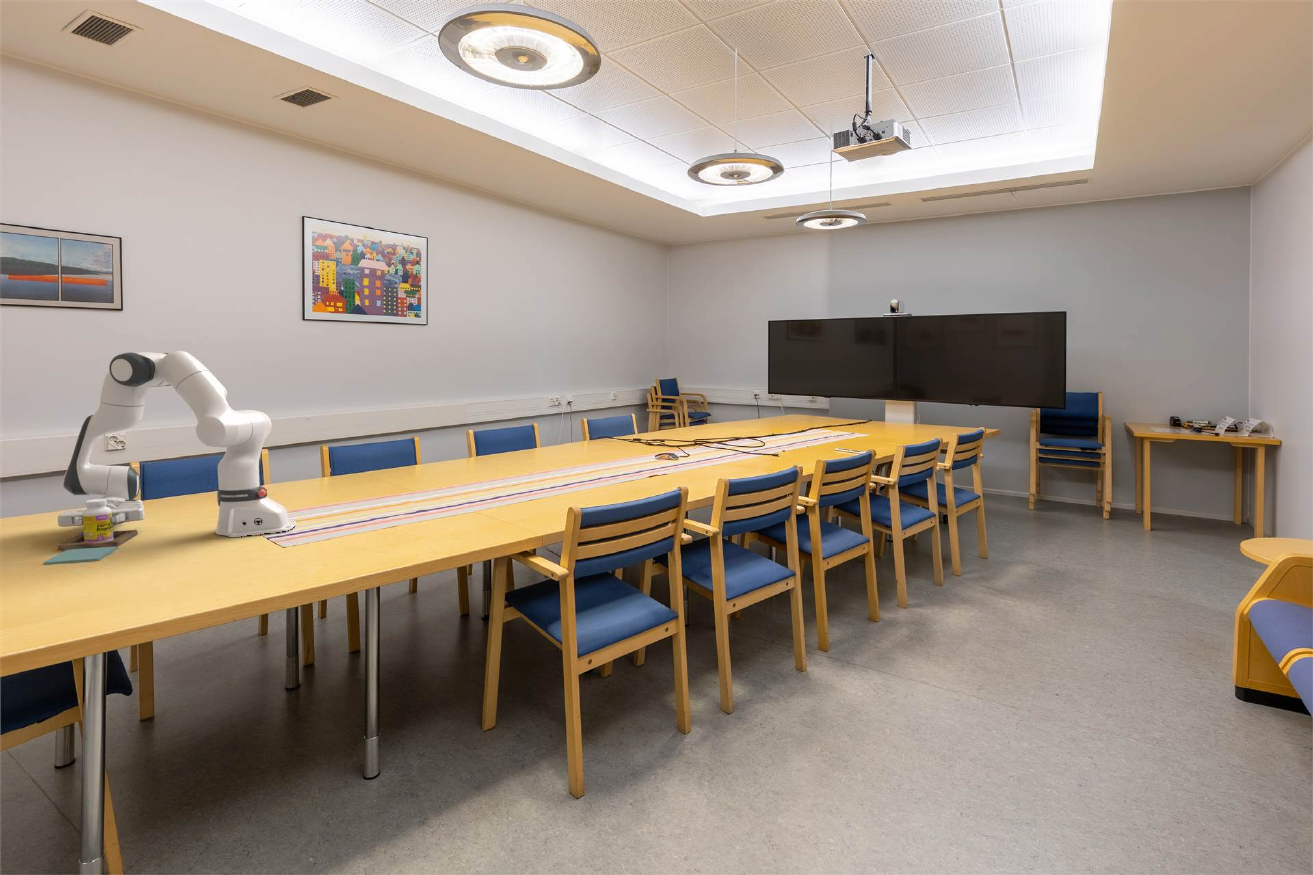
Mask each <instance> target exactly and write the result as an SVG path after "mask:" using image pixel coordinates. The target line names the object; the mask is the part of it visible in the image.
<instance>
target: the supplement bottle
mask: <svg viewBox="0 0 1313 875" xmlns="http://www.w3.org/2000/svg"><path fill="white" fill-rule="evenodd" d="M106 504H107V500H106V499H101V498H95V499H93V498H92V499H89V500H86V501H85V506H86V509H83V510H84V511H83V512H82V518H83V526H82V528H83V530H82V531H83V533H84V541H83V542H97V541H112V540H114V537H113V531H114V526H113V524H112V523H111V521H112V520H111V517H112V511H111V509H110V508H108V507H106Z"/></svg>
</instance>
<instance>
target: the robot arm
mask: <svg viewBox="0 0 1313 875" xmlns="http://www.w3.org/2000/svg"><path fill="white" fill-rule="evenodd" d="M108 368H109V370H108V372H107V373H106V375H105V377H104V380H103V384H102V387H101V393H100V400H99V406H98V408H97V410H96V412H95V413H94V414H92V415H91V414H90V415H88V416H87V417H86V418H85V420H84V421H83V423H82V425H81V429H80V431H79V434H78V437H77V440H76V443H75V446H74V450H73V453H72V455H71V459H70V462H69V465H68V468H67V469H66V471H65V474H64V476H63V480H62V481H63V488H64V489H65V490H66V491H67V492H69V493H70V494H71V495H74V496H90V495H97V496H98V495H100V496H103V497H100V499H106V500H107V504H106V507H108V508H110V509H111V511H112V517H111V520H112V521H111V523H112V524H113V527H114V526H116V525H121V524H124V523H129V522H130V523H131V522H135V521H136V522H137V521H143V520H145V517H146V516H145V506H144V504H143V501H142V499H136V497H138V496H139V492H140V487H141V476H140V473H139V472H138V471H137V470H136V469H135V468H134V467H132V466H126V465H105V464H92V463H90V458H91V455H92V453H93V448H94V446H95V443H96V441H97V439H98V438H99V437H103V436H104V435H107V434H112V433H117V432H121V431H126V430H128V429H132V428H133V427H135V426H137V425H139V423H140V422H142V419H143V418H144V413H145V406H146V393H147V391H148V389H151V388H157V387H158V388H160V387H170V386H171V387H172V388H173V389H174V390H175V392H176V393H177V394H178V395H179V396H180V397H181V398H182V400H184V402H185V403H186V404H187V405H188V406H189V407H190V409H191V411H192V412H193V414H194V415H195V417H196V420H197V424H196V427H195V433H196V436H197V439H198V440H199V441H200V442H201V444H203V445H205V446H207V447H211V448H212V447H213V448H226V450H225V451H224V452H225V453H224V455H223V457H222V458H221V460H220V461H219V462H218V464H217V479H218V482H217V483H218V489H217V493H216V497H217V500H216V502H217V506H218V507H219V508H218V509H219V510H218V519H217V523H216V524H217V526H216V528H215V534H216V535H219V536H225V537H229V538H240V537H241V536H242V537H248V536H247V535H252V536H261V535H265V534H264V533H271V534H277V533H276V532H280V533H283V532H282V531H286V530H289V531H291V530H290V529H291V528H293V527H294V526H295V525H296V526H297V521H296V519H295V520H294V519H289V518H290V517H289V514H288V511H287V508H286V507H285V506H284V505H283V504H280V503H278V502H277V501H275V500H273V499H271V498H270V497H268V487H267V486H265V487H264V486H262V485H260V458H261V454H262V450H263V446H264V443H265V440H266V439H267V437H268V436H270V433H271V432H272V428H273V423H272V421H271V418H270V417H269V416H268V414H266V413H265V412H263V411H260V410H255V409H240V410H239V409H238V410H235V409H233V408H231V407H230V404H229V402H228V401H227V397H228V391H227V388H226V387H225V386H224V385H223V384H222V383H221V382H220V381H219V379H217V377H216V376H215V375H214V374H213V373H212V372H211V371H210V370H209V369H208V368H207V366H205V365H204V364H203V363H202V362H201V361H200V360H198V358H196V357H195V356H193V355H192V354H191V353H189V352H187V351H184V350H174V351H172V352H162V353H161V352H152V351H141V352H139V351H136V352H129V351H128V352H124V353H120V354H118V355H116V356H114V357H113V358H112V359H111V361H110V363H109V366H108ZM84 510H85V509H78V510H77V509H75V510H69V511H65V512H62V513H60V514H58V515H57V525H58V527H61V528H67V527H68V528H69V527H81V526H82V527H83V518H82V512H83V511H84ZM296 526H295V527H296ZM293 529H294V528H293ZM286 532H287V531H286ZM260 534H261V535H260Z"/></svg>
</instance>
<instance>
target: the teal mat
mask: <svg viewBox="0 0 1313 875" xmlns="http://www.w3.org/2000/svg"><path fill="white" fill-rule="evenodd" d="M118 549H120V548H119V546H117V547H102V548H87V549H72V550H63V551H62V552H60V553H58V554H56V555H55V556H52V557H51V558H49V559H47V560H45V561H44V562H43V563H42V564H43V565H56V564H57V563H59V564H71V563H81V562H83V563H85V562H97V561H98V562H99V561H100V560H102V559H104V558H106V557H107V556H109V555H110V554H112V553H114V552H115V551H117V550H118ZM57 565H58V564H57Z"/></svg>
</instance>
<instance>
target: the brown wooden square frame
mask: <svg viewBox="0 0 1313 875" xmlns="http://www.w3.org/2000/svg"><path fill="white" fill-rule="evenodd" d="M138 534H139V533H138V529H129V530H113V540H112V541H97V542H84V532H82V533H79V534H77V535H76V536H73V537H72V538H70V539H68V540H65V541H64V542H62V543H60V544H58V545H57V546H56V547H57V548H56V550H57V551H58V552H59V550H61V551H66V550H72V549H87V548H102V547H117V546H118V547H119V546H121V545H123V544H125V543H126V542H128V541H130V540H131V539H133V538H134V537H136V536H138ZM82 541H83V542H82Z"/></svg>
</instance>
